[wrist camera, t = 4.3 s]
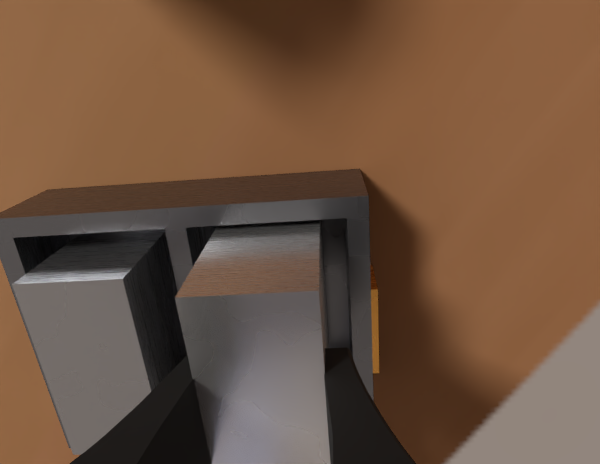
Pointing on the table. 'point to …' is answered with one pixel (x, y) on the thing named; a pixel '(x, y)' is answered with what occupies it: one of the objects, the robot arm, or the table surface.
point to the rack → (163, 278)
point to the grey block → (259, 342)
